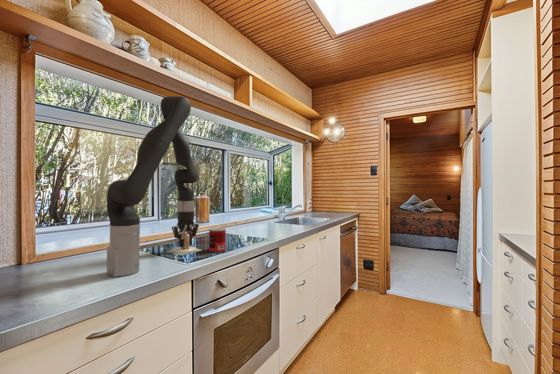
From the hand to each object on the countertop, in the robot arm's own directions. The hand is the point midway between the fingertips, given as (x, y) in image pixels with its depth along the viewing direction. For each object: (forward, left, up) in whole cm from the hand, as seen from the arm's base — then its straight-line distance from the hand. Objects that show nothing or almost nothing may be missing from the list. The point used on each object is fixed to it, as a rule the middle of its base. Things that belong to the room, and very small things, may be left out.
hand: (185, 246), depth 122 cm
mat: (0, 0, -3) cm, 3 cm away
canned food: (+10, -11, -3) cm, 15 cm away
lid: (0, 0, -2) cm, 2 cm away
